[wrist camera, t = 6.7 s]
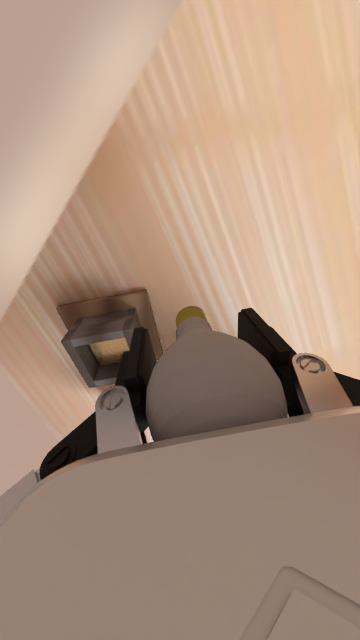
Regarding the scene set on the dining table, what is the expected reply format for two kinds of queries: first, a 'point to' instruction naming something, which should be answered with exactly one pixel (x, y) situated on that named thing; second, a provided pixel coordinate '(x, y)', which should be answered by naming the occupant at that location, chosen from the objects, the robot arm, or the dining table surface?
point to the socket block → (105, 331)
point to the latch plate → (109, 351)
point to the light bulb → (210, 383)
